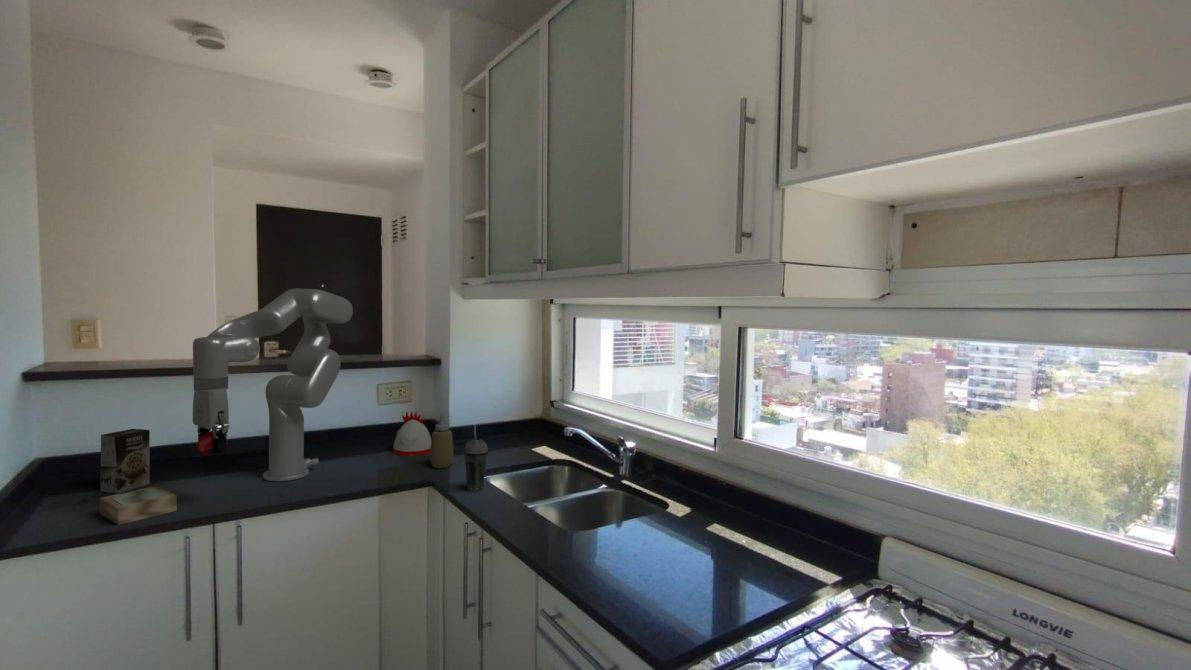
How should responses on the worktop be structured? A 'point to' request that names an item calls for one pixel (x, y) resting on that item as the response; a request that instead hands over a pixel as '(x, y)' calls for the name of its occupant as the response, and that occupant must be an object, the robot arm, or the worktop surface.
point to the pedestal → (137, 505)
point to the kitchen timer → (412, 437)
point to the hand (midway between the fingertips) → (212, 449)
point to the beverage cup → (475, 463)
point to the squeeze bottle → (441, 445)
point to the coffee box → (124, 460)
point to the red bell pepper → (205, 443)
